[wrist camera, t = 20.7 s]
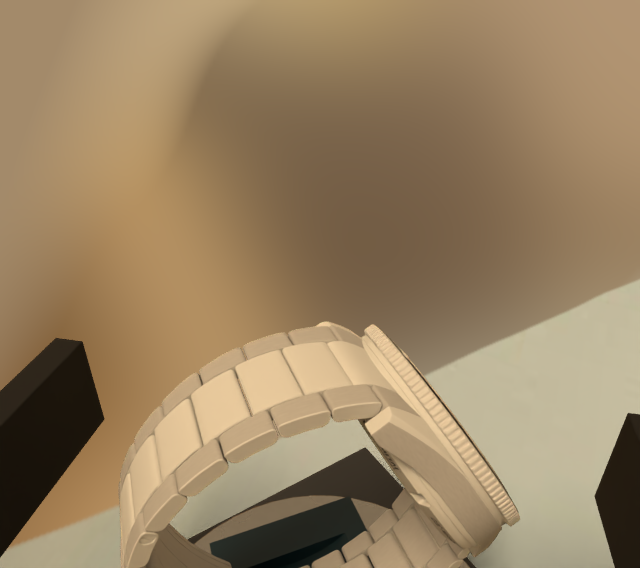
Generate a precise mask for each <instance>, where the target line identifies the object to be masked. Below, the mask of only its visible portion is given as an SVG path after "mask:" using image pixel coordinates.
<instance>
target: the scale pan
mask: <svg viewBox="0 0 640 568" xmlns="http://www.w3.org/2000/svg"><path fill="white" fill-rule="evenodd" d="M342 498H345V497H341V496H331V495H310V496H300V497H291V498H287V499H282V500H277V501H273V502H269V503H266V504H263V505H260V506H257V507H254V508H252V509H250V510H247V511H245V512H243V513H241V514H239V515H236V516H234V517H232V518H231V519H229V520H227V521H226V522H224V523H222V524H221V525H219V526H217V527H216V528H214V529H213V530H212V531H210V532H209V533H207V534H206V535H205V536H203V537H202V538H201V539H199V540H198V541H197V542H196V543H195V544H194V545H195V546H197V547H199V548H200V549H202V550H204V551H206V552H208V553H209V554H211V550H210V544H209V543H212V542H215V541H218V540H221V539H224V538H227V537H230V536H233V535H236V534H239V533H242V532H245V531H247V530H250V529H253V528H256V527H259V526H262V525H265V524H268V523H271V522H274V521H277V520H280V519H283V518H286V517H289V516H292V515H295V514H298V513H301V512H304V511H307V510H310V509H313V508H316V507H319V506H322V505H324V504H327V503H330V502H333V501H336V500H339V499H342ZM351 499H352V501H353V503H354V505H355V507H356V509H357V511H358V513H359V515H360V517H361V519H362V521H363V523H364V525H365V527H366V529H367V531H368V532H369V528H370V526H371V525H372V524H373V523H374V522H375V521H377V520H378V519H379V518H380V517H381V516H382V514H383V513H384V512H385V511H387V510H389V509H388V508H386V507H383V506H380V505H377V504H375V503H371V502H367V501H363V500H359V499H355V498H351ZM369 533H370V532H369ZM394 534H395V533H394ZM372 538H373V537H372ZM373 540H374V539H373ZM374 542H375V541H374ZM458 568H470V567H469V566H468V565H467V564H466V563H465V562H464V561H463V563H462V564H461V565H460V566H459V567H458Z"/></svg>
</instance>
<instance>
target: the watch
mask: <svg viewBox="0 0 640 568" xmlns="http://www.w3.org/2000/svg"><path fill="white" fill-rule="evenodd" d="M364 332H365V335H364V336H363V337H362V338H361V337H359V336H357V335H356V334H355V333H353V332H352V331H350V330H348V329H347V328H345V327H342V326H340V325H337V324H334V323H331V322H321V323H320V324H318V325H317V326H316V327H309V328H303V329H297V330H293V331H290V332H289V334H288V336H287V335H286V333H283V332H282V333H277V334H274V335H270V336H267V337H264V338H260V339H258V340H255V341H253V342H250V343H248V344H246V345H244V346H243V350H244V353H245V355H246V357H247V361H246V358H245V356H244V354H243V351H242V349H241V348H235V349H233V350H231V351H229V352H227V353H225V354H223V355H221V356H220V357H218V358H216V359H214V360H213V361H211V362H210V363H208V364H207V365H205V366H204V367H203V368H201V369H200V371H199V372H200V375H199V374H198V373H193V374H192V375H190V376H189V377H188V378H187V379H185V380H184V381H183V382H181V383H180V384H179V385H178V386H177V387H176V388H175V389H174V390H173V391H172V392H171V393H169V395H167V397H166V398H165V399H164V400H163V401H162V406H159V407H157V408H156V409H155V410H154V411H153V413H152V414H151V415H150V416H149V417H148V419H147V420H146V421H145V423H144V424H143V425H142V427H141V429H140V430H139V432H138V433H137V435H136V437H135V439H134V440H135V443H133V444H132V445H131V446H130V448H129V450H128V452H127V454H126V457H125V460H124V463H123V466H122V470H121V475H120V478H121V481H120V482H119V504H120V524H121V568H458V567H459V566H460V565H461V564H462V563H463V559H464V558H466V557H467V556H468V554H469V553H470V552H471V553H472V555H473V557H476V556H478V555H479V554H480V553H482V552H483V551H484V550H486V549H487V548H488V547H489V546H490V545H491V543H492V542H493V541H494V540H495V538H496V537H497V535H498V533H499V532H500V531H501V529H502V527H501V526H502V525H504V524H505V523H506V524H508V525H509V526H512V525H514V524H515V523H516V522H518V521H519V520H520V516H519V514H518V510H517V508H516V506H515V505H514V503H513V501H512V500H511V498H510V496H509V495H508V493H507V491H506V489H505V487H504V486H503V484H502V482H501V481H500V479H499V478H498V476H497V474H496V473H495V471H494V470H493V468H492V467H491V465H490V464H489V462H488V461H487V459H486V458H485V457H484V455H483V454H482V452H481V451H480V450H479V448H478V447H477V445H476V444H475V443H474V441H473V440H472V438H471V437H470V436H469V434H468V433H467V432H466V430H465V429H464V428H463V426H462V425H461V424H460V422H459V421H458V420H457V418H456V417H455V416H454V414H453V413H452V412H451V410H450V409H449V408H448V406H447V405H446V404H445V402H444V401H443V400H442V399H441V397H440V396H439V395H438V394H437V392H436V391H435V390H434V388H433V387H432V386H431V385H430V383H429V382H428V381H427V380H426V378H425V377H424V376H423V375H422V374H421V372H420V371H419V370H418V369H417V368H416V366H415V365H414V364H413V363H412V362H411V360H410V359H409V357H408V356H407V355H406V354H405V353H404V352H403V351H402V350H401V349H400V348H399V347H398V346H397V345H396V344H395V343H394V342H393V341H392V340H391V339H390V338H389V337H388V336H387V335H386V334H385V333H384V332H383V331H382V330H381V329H380V328H378V327H377V326H375V325H373V324H372V325H370V326H369V327H368V328H366V329H365V330H364ZM238 378H239V380H240V383H241V386H242V388H243V391H244V393H245V396H246V398H247V401H248V403H249V405H250V409H251V411H252V414H253V416H251V413H250V410H249V408H248V406H247V403H246V400H245V397H244V395H243V392H242V390H241V387H240V384H239V382H238ZM330 415H331V417H332V419H333V420H334V421H336V422H343V421H349V420H355V419H358V421H359V422H360V424H361V425H362V427H363V428H364V430H365V431H366V433H367V434H368V436H369V437H370V439H371V440H372V442H373V443H374V445H375V446H376V448H377V449H378V451H379V452H380V453H381V455H382V456H383V458H384V459H385V461H386V462H387V464H388V465H389V466H390V468H391V469H392V471H393V472H394V473H395V475H396V476H397V478H398V479H399V480H400V482H401V483H402V485H403V486H404V487H405V488H404V489H403V491H402V492H401V494H400V495H399V496H398V498H397V499H396V500H395V502H394V503H393V504H392V508H393V510H392V509H389V510H387V511H385V512H384V513H383V514H382V516H381V517H380V518H379V519H378V520H377V521H375V522H374V523H373V524H372V525H371V526H370V528H369V532H370V533H369V532H368V531H367V529H366V527H365V525H364V523H363V521H362V519H361V517H360V515H359V513H358V511H357V509H356V507H355V505H354V503H353V501H352V499H351V497H350V496H348V497H345V498H342V499H339V500H336V501H333V502H330V503H327V504H324V505H322V506H319V507H316V508H313V509H310V510H307V511H304V512H301V513H298V514H295V515H292V516H289V517H286V518H283V519H280V520H277V521H274V522H271V523H268V524H265V525H262V526H259V527H256V528H253V529H250V530H247V531H245V532H242V533H239V534H236V535H233V536H230V537H227V538H224V539H221V540H218V541H215V542H212V543H209V544H210V550H211V554H209V553H208V552H206V551H204V550H202V549H200V548H199V547H197V546H195V545H194V544H192V543H191V542H189V541H188V540H187V539H186V538H184V537H183V536H182V535H181V534H180V533H179V532H177V531H176V530H175V529H174V528H173V527H172V526H171V525H170V524H169V522H170V521H171V520H172V519H173V517H174V516H175V515H176V514H177V513H178V512H179V511H180V510H181V509H182V508H183V507H184V506H185V504H186V503H187V496H195V495H197V494H198V493H199V492H201V491H202V490H203V489H204V488H205V487H207V486H208V485H209V484H210V483H212V482H213V481H214V480H216V479H217V478H219V477H220V476H221V475H223V474H224V473H225V472H226V471H227V470H228V462H227V460H228V461H230V462H232V463H238V462H241V461H243V460H245V459H246V458H248V457H250V456H252V455H253V454H255V453H257V452H259V451H261V450H263V449H265V448H267V447H269V446H271V445H273V444H275V443H276V442H277V439H278V434H277V431H276V429H275V426H274V424H273V422H272V421H273V420H274V423H275V425H276V427H277V430H278V432H279V434H280V435H281V436H282V437H291V436H294V435H297V434H300V433H303V432H306V431H309V430H313V429H317V428H320V427H323V426H325V425H327V424H328V422H329V420H330ZM394 533H395V534H394ZM372 537H373V538H372ZM373 539H374V540H373ZM374 541H375V542H374Z"/></svg>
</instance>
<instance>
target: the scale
mask: <svg viewBox="0 0 640 568" xmlns="http://www.w3.org/2000/svg"><path fill="white" fill-rule="evenodd" d="M402 491H403V488H402V487H401V486H400V484H399V483H398V482H397V481H396V480H395V479H394V478H393V477H392V476H391V475H390V474H389V473H388V471H387V470H386V469H385V468H384V467H383V466H382V465H381V464H380V463H379V462H378V461H377V460H376V458H375V457H374V456H373V455H372V454H371V453H370V452H369V451H368V450H367V449H366V448H363V449H361V450H359V451H357V452H355V453H353V454H351V455H349V456H348V457H346V458H344V459H342V460H340V461H338V462H336V463H334V464H332V465H330V466H328V467H326V468H324V469H322V470H321V471H319V472H317V473H315V474H313V475H311V476H309V477H307V478H305V479H303V480H301V481H299V482H297V483H296V484H294V485H292V486H290V487H288V488H286V489H284V490H282V491H280V492H278V493H276V494H274V495H272V496H270V497H269V498H267V499H265V500H263V501H261V502H259V503H257V504H255V505H253V506H251V507H249V508H247V509H245V510H244V511H242V512H240V513H238V514H236V515H239V514H241V513H243V512H245V511H247V510H250V509H252V508H254V507H257V506H260V505H263V504H266V503H269V502H273V501H277V500H282V499H287V498H291V497H300V496H310V495H331V496H341V497H348V496H350V497H351V498H355V499H359V500H363V501H367V502H371V503H375V504H377V505H380V506H383V507H386V508H388V509H392V510H393V508H392V504H393V503H394V502H395V500H396V499H397V498H398V496H399V495H400V494H401V492H402ZM236 515H234V516H236ZM234 516H232V517H234ZM232 517H230V518H228V519H226V520H224V521H222V522H220V523H218V524H217V525H215V526H213V527H211V528H209V529H207V530H205V531H203V532H201V533H199V534H197V535H195V536H193V537H192V538H190V539H188V541H189V542H191V543H192V544H195V543H196V542H197V541H198V540H199V539H201V538H202V537H203V536H205V535H206V534H207V533H209V532H210V531H212V530H213V529H214V528H216V527H217V526H219V525H221V524H222V523H224V522H226V521H227V520H229V519H231V518H232ZM463 561H464V562H465V563H466V564H467V565H468V566H469V567H470V568H476V567H475V566H474V565H473V564H472V563H471V562H470V561H469V559H468V558H467V557H466V558H464V559H463Z"/></svg>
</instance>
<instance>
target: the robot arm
mask: <svg viewBox="0 0 640 568" xmlns="http://www.w3.org/2000/svg"><path fill="white" fill-rule="evenodd" d="M103 420H104V416H103V412H102V409H101V405H100V402H99V398H98V395H97V391H96V388H95V384H94V381H93V377H92V374H91V370H90V366H89V363H88V359H87V356H86V352H85V349H84V346H83V342H82V341H74V340H67V339H59V338H56V339H55V340H54V341H52V343H50V344H49V345H48V346H47V347H46V348H45V349H44V350H43V351H42V352H41V353H40V354H39V355H38V356H37V357H36V358H35V359H34V360H33V361H31V362H30V363H29V364H28V365H27V366H26V367H25V368H24V369H23V370H22V371H21V372H20V373H19V374H18V375H17V376H16V377H15V378H14V379H13V380H12V381H10V383H9V384H7V385H6V386H5V387H4V388H3V389H2V390H1V391H0V557H1V556H2V555H3V553H4V552H5V551H6V549H7V548H8V547H9V545H10V544H11V542H12V541H13V540H14V539H15V537H16V536H17V535H18V533H19V532H20V531H21V529H22V528H23V526H24V525H25V524H26V523H27V521H28V520H29V519H30V517H31V516H32V515H33V513H34V512H35V511H36V509H37V508H38V507H39V505H40V504H41V503H42V501H43V500H44V499H45V497H46V496H47V495H48V493H49V492H50V491H51V489H52V488H53V487H54V485H55V484H56V483H57V481H58V480H59V479H60V477H61V476H62V475H63V474H64V472H65V471H66V470H67V468H68V467H69V465H70V464H71V463H72V462H73V460H74V459H75V458H76V456H77V455H78V454H79V452H80V451H81V449H82V448H83V447H84V446H85V444H86V443H87V442H88V440H89V439H90V438H91V436H92V435H93V434H94V432H95V431H96V430H97V428H98V427H99V426H100V424H101V423H102V422H103ZM595 499H596V503H597V506H598V510H599V513H600V517H601V520H602V524H603V527H604V531H605V534H606V538H607V542H608V545H609V549H610V552H611V556H612V559H613V563H614V566H615V568H640V415H639V414H631V413H628V414H627V416H626V419H625V421H624V424H623V426H622V429H621V431H620V434H619V436H618V439H617V441H616V444H615V446H614V449H613V451H612V454H611V456H610V459H609V461H608V464H607V466H606V469H605V471H604V474H603V476H602V479H601V481H600V484H599V486H598V489H597V491H596V494H595Z"/></svg>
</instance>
